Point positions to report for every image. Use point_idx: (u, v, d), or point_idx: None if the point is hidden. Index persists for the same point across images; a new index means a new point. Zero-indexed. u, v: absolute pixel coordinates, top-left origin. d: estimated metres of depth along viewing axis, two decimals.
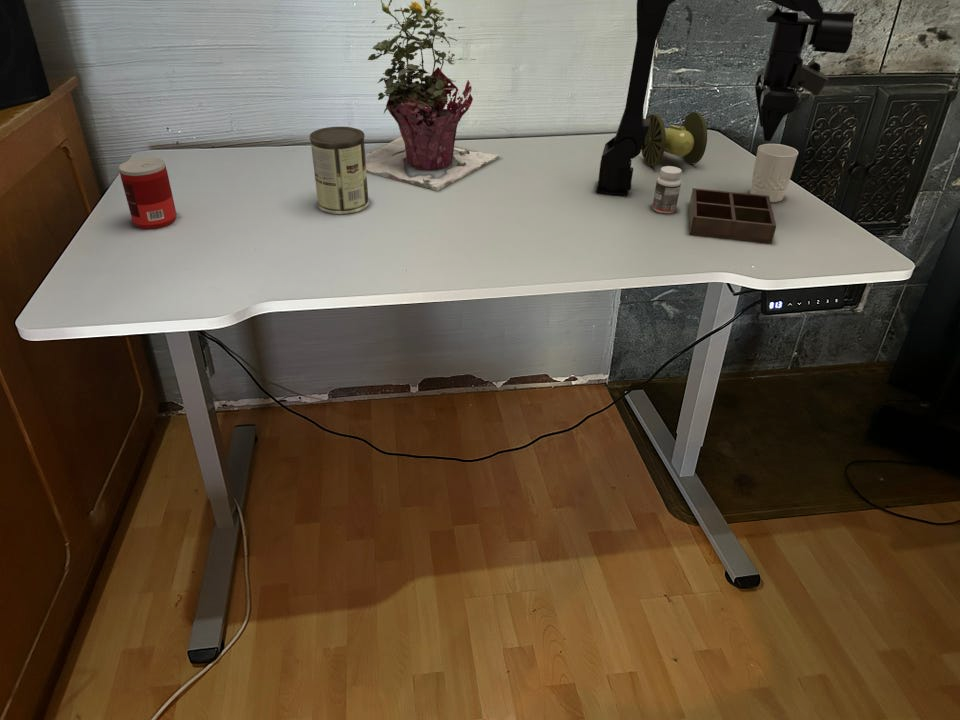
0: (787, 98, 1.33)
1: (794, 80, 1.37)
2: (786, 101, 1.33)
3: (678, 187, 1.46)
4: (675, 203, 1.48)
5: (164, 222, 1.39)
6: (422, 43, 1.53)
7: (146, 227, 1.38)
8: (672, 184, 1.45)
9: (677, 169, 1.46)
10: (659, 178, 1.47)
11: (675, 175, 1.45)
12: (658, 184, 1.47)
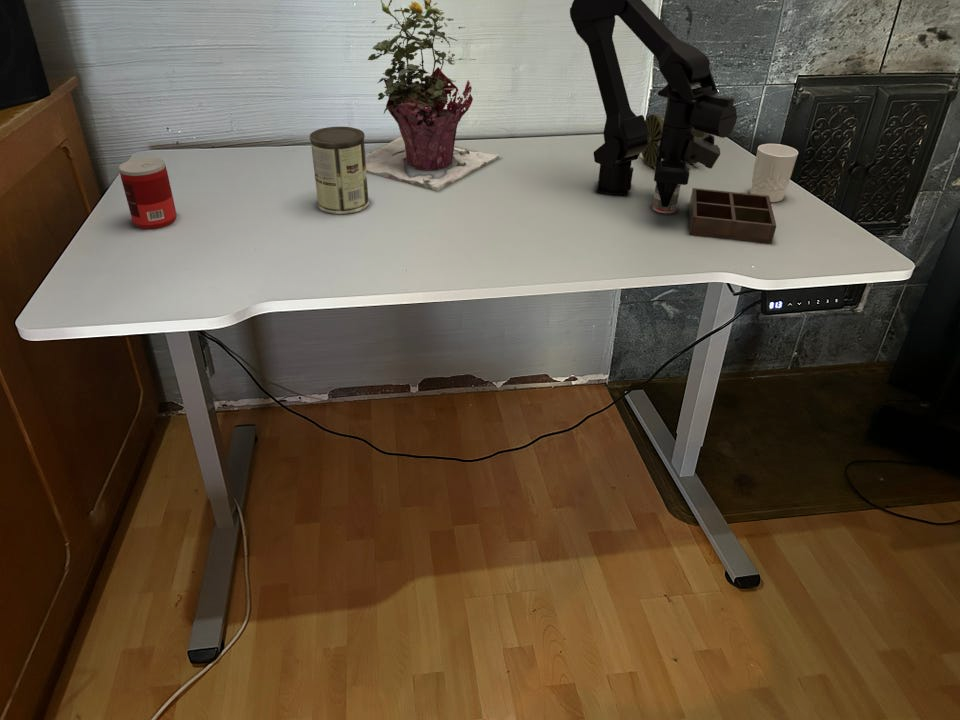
0: (677, 174, 1.37)
1: (687, 154, 1.41)
2: (676, 176, 1.37)
3: (678, 187, 1.46)
4: (675, 203, 1.48)
5: (164, 222, 1.39)
6: (422, 43, 1.53)
7: (146, 227, 1.38)
8: None
9: None
10: None
11: None
12: None
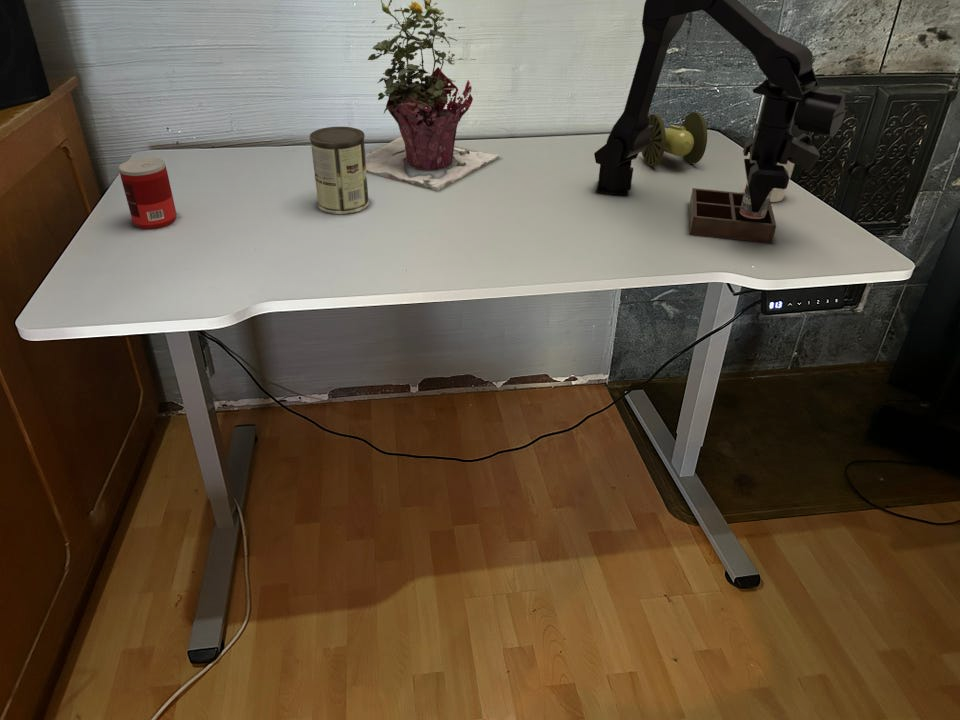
0: (776, 177, 1.26)
1: (784, 156, 1.30)
2: (775, 180, 1.27)
3: (770, 191, 1.36)
4: (766, 208, 1.38)
5: (164, 222, 1.39)
6: (422, 43, 1.53)
7: (146, 227, 1.38)
8: None
9: None
10: None
11: None
12: (748, 188, 1.36)
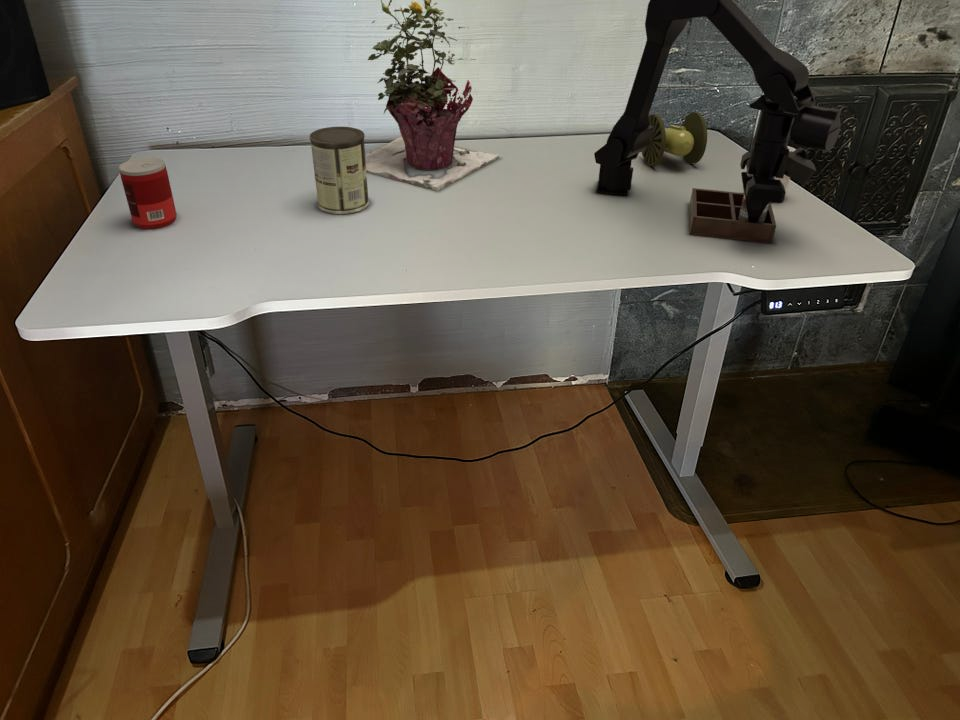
0: (772, 191, 1.28)
1: (780, 170, 1.32)
2: (771, 194, 1.28)
3: (767, 204, 1.37)
4: (763, 221, 1.39)
5: (164, 222, 1.39)
6: (422, 43, 1.53)
7: (146, 227, 1.38)
8: None
9: None
10: None
11: None
12: (745, 201, 1.38)
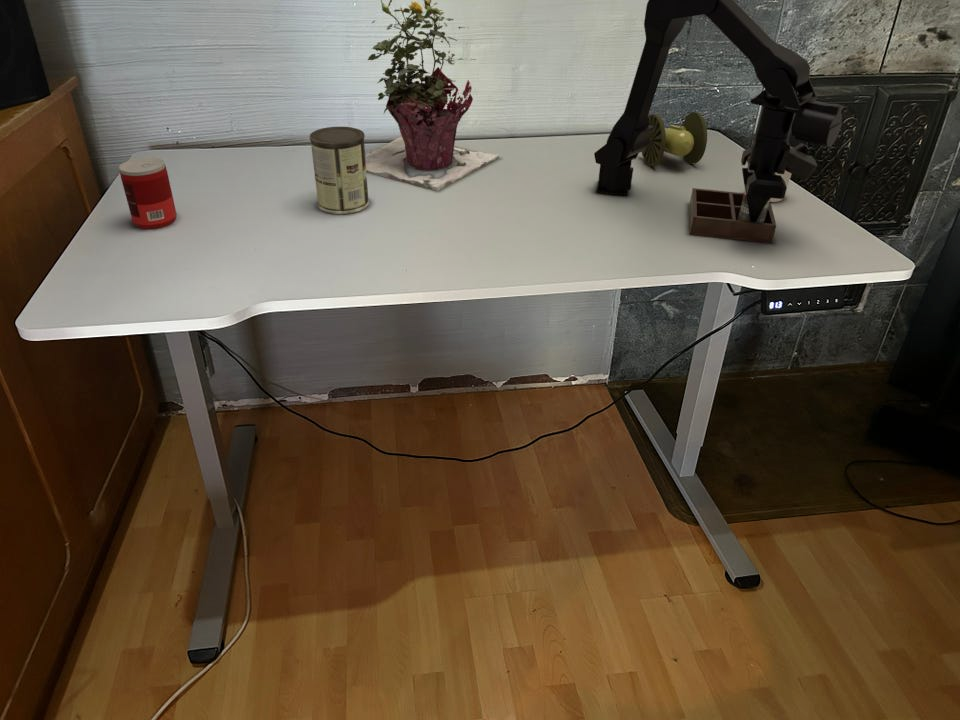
0: (774, 187, 1.27)
1: (781, 166, 1.31)
2: (772, 190, 1.28)
3: (768, 200, 1.37)
4: (764, 217, 1.39)
5: (164, 222, 1.39)
6: (422, 43, 1.53)
7: (146, 227, 1.38)
8: None
9: None
10: None
11: None
12: (746, 197, 1.37)
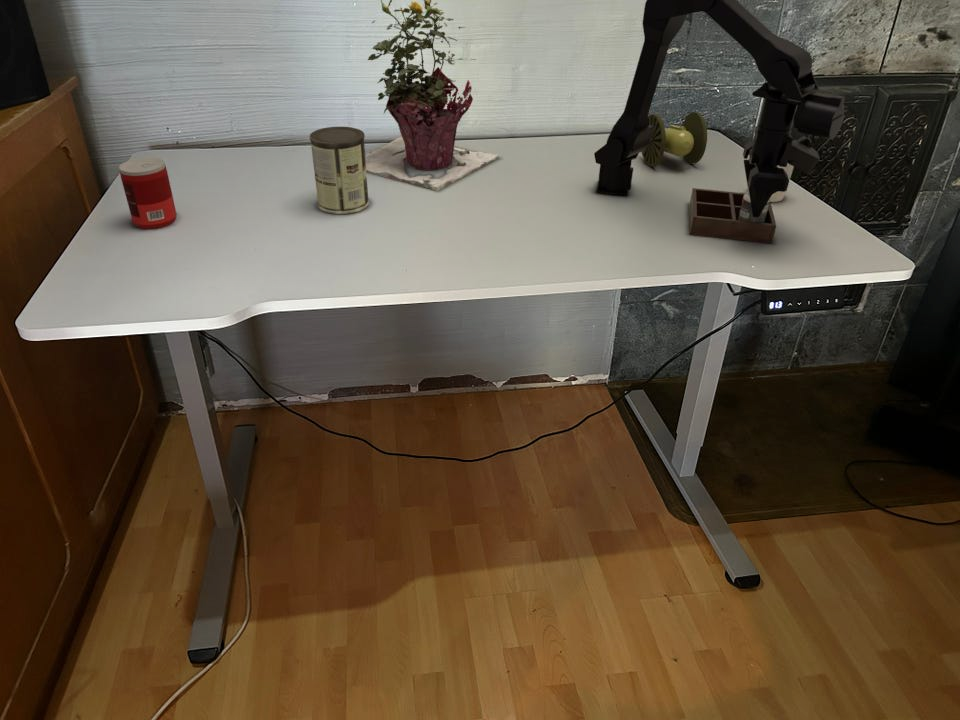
0: (776, 180, 1.27)
1: (784, 158, 1.31)
2: (775, 183, 1.27)
3: (767, 204, 1.37)
4: (763, 222, 1.39)
5: (164, 222, 1.39)
6: (422, 43, 1.53)
7: (146, 227, 1.38)
8: None
9: None
10: (746, 195, 1.38)
11: None
12: (745, 202, 1.38)
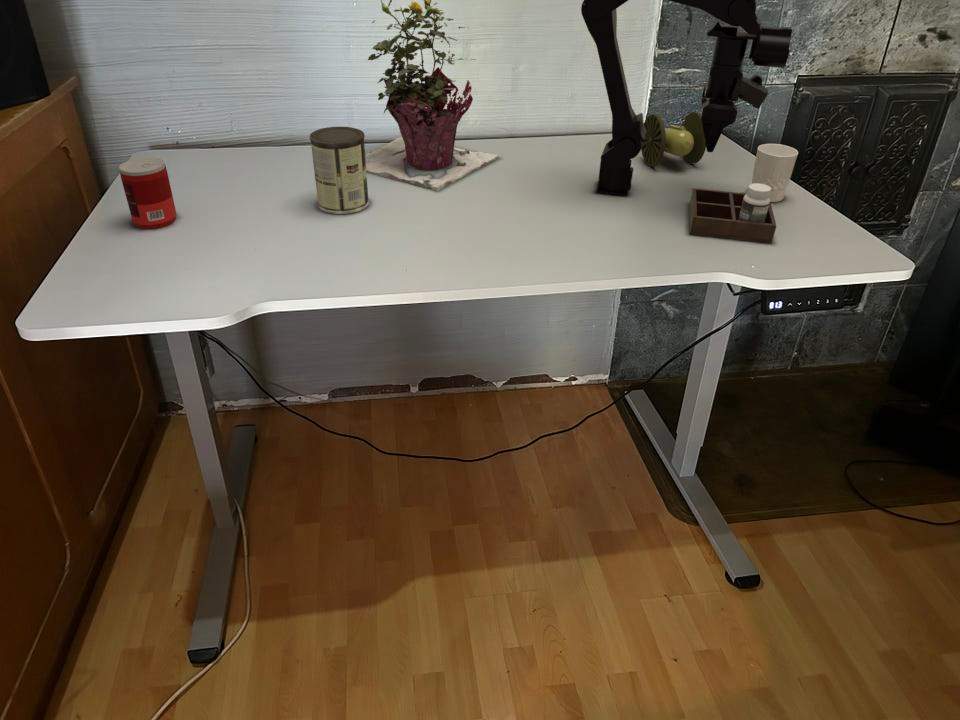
0: (725, 111, 1.36)
1: (734, 93, 1.40)
2: (724, 113, 1.36)
3: (767, 206, 1.37)
4: None
5: (164, 222, 1.39)
6: (422, 43, 1.53)
7: (146, 227, 1.38)
8: (761, 203, 1.36)
9: (766, 187, 1.37)
10: (746, 196, 1.38)
11: (765, 193, 1.36)
12: (745, 203, 1.38)
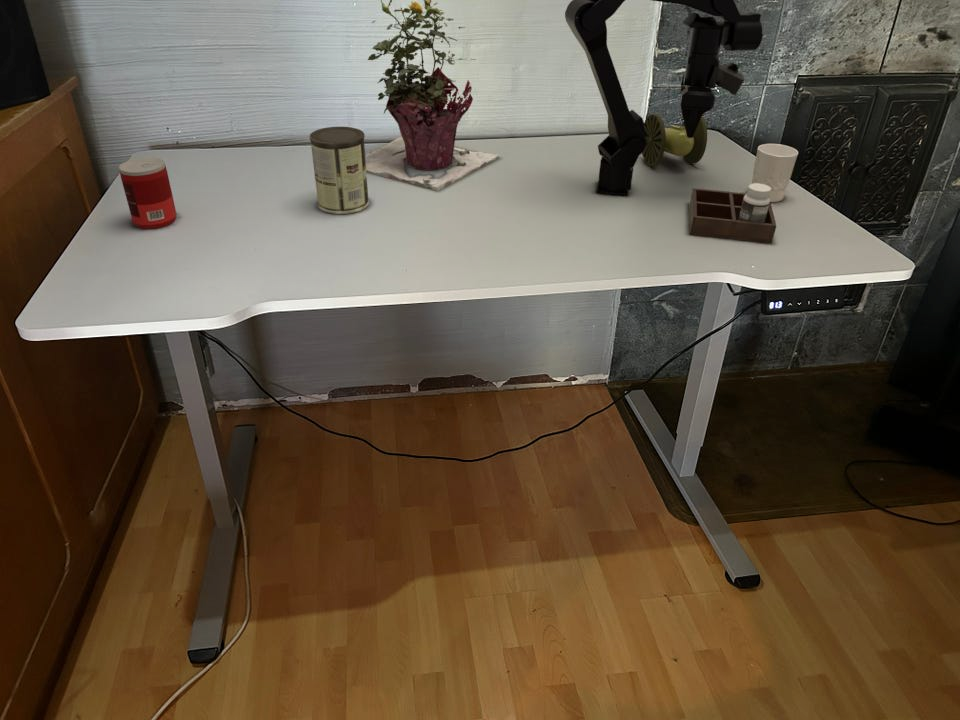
0: (703, 97, 1.42)
1: (712, 80, 1.46)
2: (702, 100, 1.42)
3: (767, 206, 1.37)
4: None
5: (164, 222, 1.39)
6: (422, 43, 1.53)
7: (146, 227, 1.38)
8: (761, 203, 1.36)
9: (766, 187, 1.37)
10: (746, 196, 1.38)
11: (765, 193, 1.36)
12: (745, 203, 1.38)
